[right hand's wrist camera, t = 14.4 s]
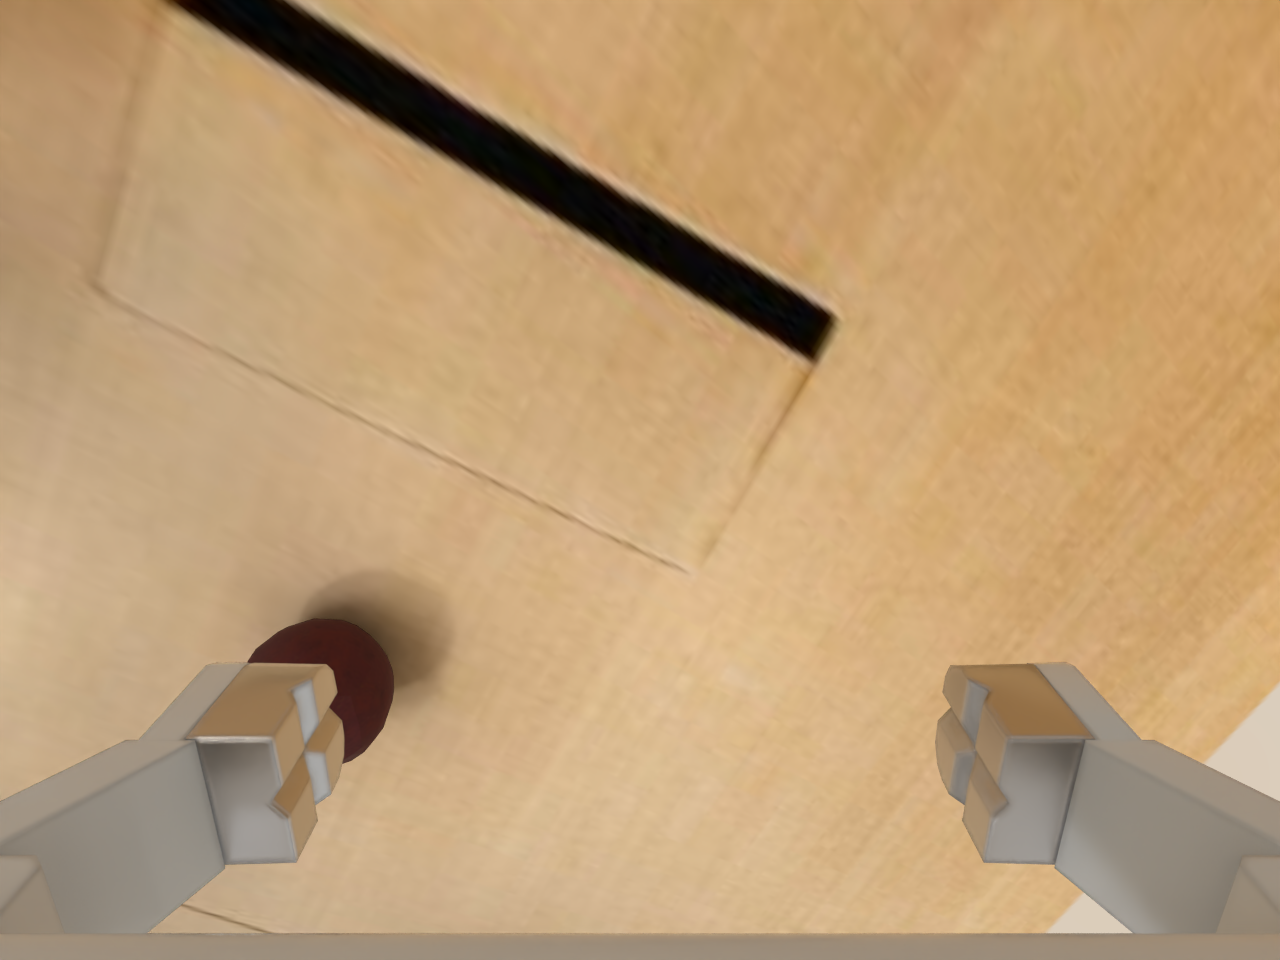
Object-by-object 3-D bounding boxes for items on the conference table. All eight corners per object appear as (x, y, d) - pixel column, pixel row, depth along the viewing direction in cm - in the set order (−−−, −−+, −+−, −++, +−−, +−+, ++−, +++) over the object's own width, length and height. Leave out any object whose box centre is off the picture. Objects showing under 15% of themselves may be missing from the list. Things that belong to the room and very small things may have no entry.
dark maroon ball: (416, 708, 45) (378, 798, 39) (281, 710, 45) (220, 801, 39) (400, 594, 43) (357, 670, 36) (256, 597, 43) (187, 673, 36)
